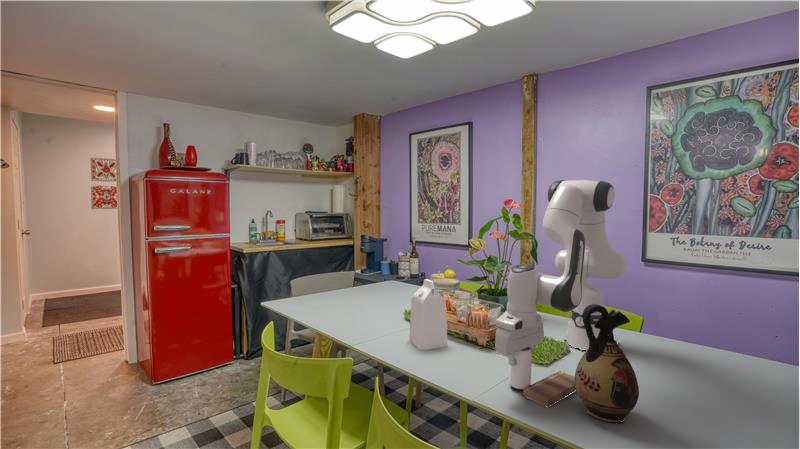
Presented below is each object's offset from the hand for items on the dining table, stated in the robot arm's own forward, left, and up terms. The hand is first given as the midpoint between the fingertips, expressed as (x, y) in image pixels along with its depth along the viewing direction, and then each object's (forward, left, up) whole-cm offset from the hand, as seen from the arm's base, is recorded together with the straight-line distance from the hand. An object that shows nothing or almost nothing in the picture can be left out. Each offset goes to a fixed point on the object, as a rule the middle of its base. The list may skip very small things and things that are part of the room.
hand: (520, 362), depth 117 cm
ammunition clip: (-18, -33, -8) cm, 39 cm away
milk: (-2, -45, -8) cm, 46 cm away
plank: (-7, +8, -8) cm, 13 cm away
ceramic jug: (-6, +22, -8) cm, 24 cm away
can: (0, 0, -8) cm, 8 cm away
